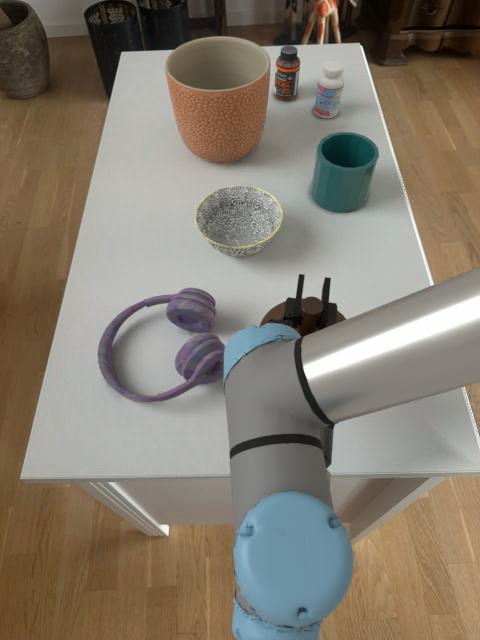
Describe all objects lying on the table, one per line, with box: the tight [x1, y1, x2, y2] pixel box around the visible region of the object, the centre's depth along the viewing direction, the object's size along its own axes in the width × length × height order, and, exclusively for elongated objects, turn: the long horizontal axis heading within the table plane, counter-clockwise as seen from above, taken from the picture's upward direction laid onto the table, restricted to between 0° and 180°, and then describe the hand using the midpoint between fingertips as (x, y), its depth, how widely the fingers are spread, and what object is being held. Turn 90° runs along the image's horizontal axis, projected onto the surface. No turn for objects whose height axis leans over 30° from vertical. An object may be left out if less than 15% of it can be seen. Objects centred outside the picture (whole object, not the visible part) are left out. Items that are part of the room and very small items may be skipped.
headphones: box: [97, 287, 226, 403], centre depth 70 cm, size 18×8×20 cm
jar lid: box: [259, 295, 348, 337], centre depth 56 cm, size 13×13×9 cm
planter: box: [164, 35, 272, 164], centre depth 95 cm, size 21×21×19 cm
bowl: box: [194, 184, 284, 257], centre depth 83 cm, size 16×16×8 cm
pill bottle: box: [313, 60, 345, 119], centre depth 104 cm, size 6×6×11 cm
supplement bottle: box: [273, 44, 301, 102], centre depth 109 cm, size 6×6×11 cm
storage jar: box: [310, 131, 380, 214], centre depth 89 cm, size 12×12×10 cm
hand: (313, 282), depth 57 cm, fingers closed on jar lid, 3 cm apart
